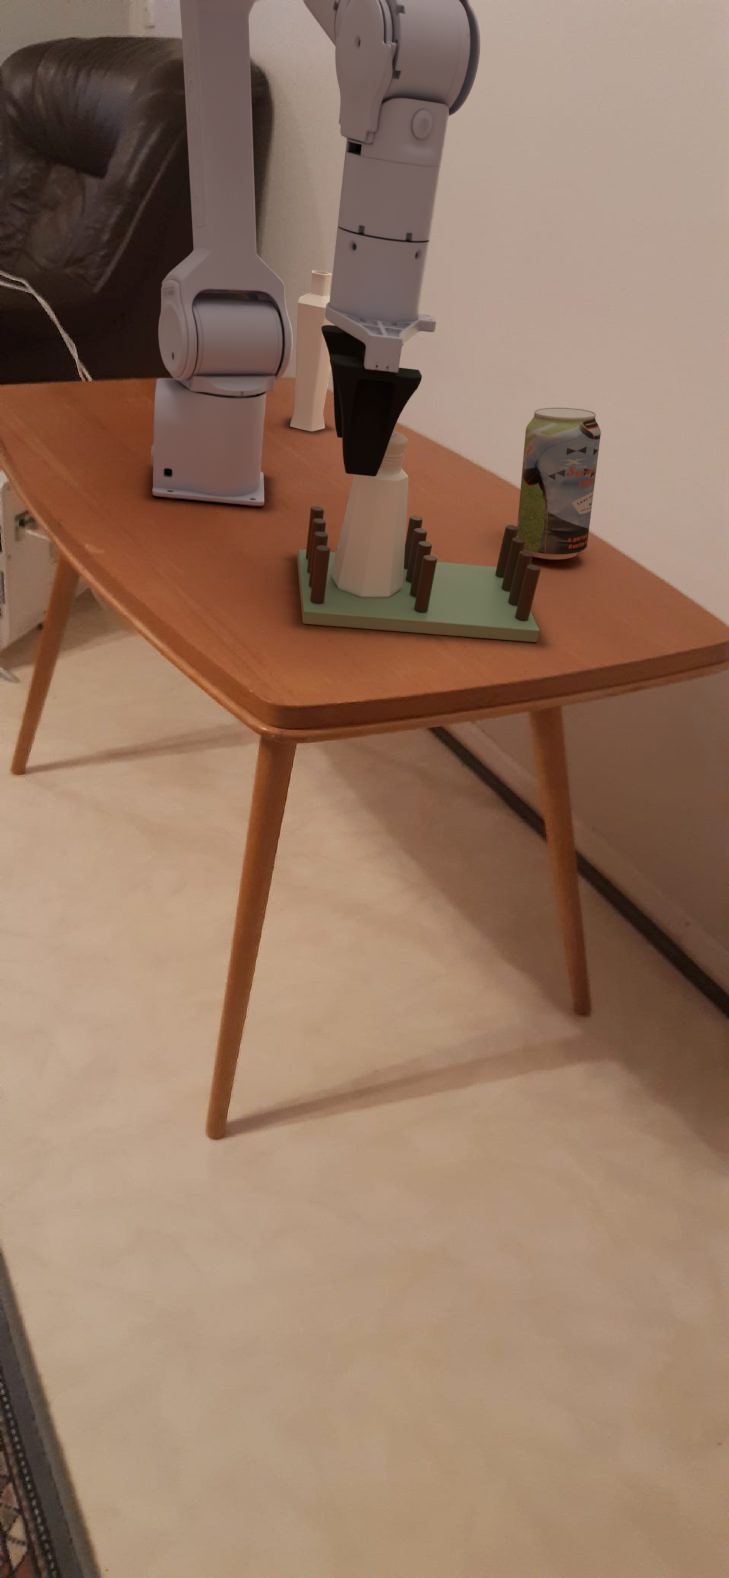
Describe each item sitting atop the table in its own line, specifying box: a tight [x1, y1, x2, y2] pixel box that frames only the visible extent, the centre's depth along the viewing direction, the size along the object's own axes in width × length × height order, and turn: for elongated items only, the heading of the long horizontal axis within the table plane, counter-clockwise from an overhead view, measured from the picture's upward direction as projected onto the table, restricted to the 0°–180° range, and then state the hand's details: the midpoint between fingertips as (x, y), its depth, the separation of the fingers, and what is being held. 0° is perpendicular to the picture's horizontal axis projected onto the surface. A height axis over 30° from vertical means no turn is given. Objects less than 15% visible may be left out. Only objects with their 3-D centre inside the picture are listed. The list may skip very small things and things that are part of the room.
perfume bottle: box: [289, 269, 336, 432], centre depth 106 cm, size 5×4×15 cm
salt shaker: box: [331, 430, 409, 598], centre depth 73 cm, size 5×5×11 cm
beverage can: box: [516, 407, 602, 560], centre depth 85 cm, size 6×7×12 cm
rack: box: [296, 505, 541, 643], centre depth 76 cm, size 17×11×5 cm, turn 95°
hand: (355, 454), depth 70 cm, fingers open, 7 cm apart
